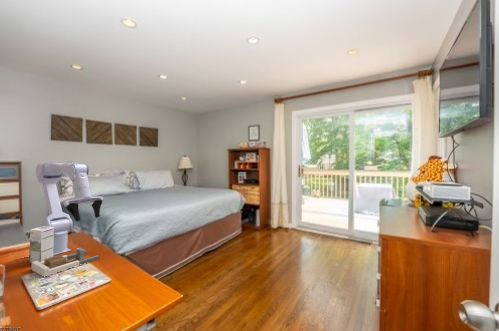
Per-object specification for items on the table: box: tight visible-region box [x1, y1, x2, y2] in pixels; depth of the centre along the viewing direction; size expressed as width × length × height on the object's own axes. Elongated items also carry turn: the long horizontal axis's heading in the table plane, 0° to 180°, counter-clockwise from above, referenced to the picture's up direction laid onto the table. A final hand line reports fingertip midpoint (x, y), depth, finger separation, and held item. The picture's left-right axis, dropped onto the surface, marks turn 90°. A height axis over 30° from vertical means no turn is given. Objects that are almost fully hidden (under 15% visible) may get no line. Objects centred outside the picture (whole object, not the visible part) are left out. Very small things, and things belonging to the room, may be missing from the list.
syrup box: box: [29, 225, 54, 264], centre depth 98 cm, size 6×6×14 cm
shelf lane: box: [30, 254, 79, 278], centre depth 92 cm, size 12×12×3 cm
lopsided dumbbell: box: [44, 247, 86, 269], centre depth 95 cm, size 6×12×5 cm, turn 152°
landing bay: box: [66, 249, 100, 266], centre depth 101 cm, size 12×8×2 cm, turn 62°
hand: (88, 219), depth 96 cm, fingers open, 7 cm apart
